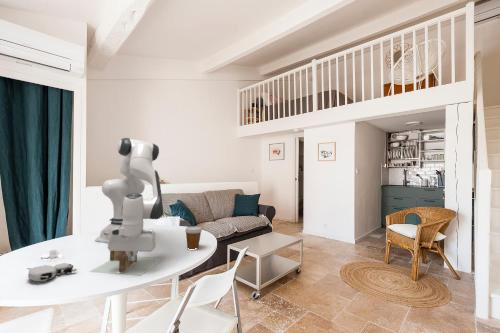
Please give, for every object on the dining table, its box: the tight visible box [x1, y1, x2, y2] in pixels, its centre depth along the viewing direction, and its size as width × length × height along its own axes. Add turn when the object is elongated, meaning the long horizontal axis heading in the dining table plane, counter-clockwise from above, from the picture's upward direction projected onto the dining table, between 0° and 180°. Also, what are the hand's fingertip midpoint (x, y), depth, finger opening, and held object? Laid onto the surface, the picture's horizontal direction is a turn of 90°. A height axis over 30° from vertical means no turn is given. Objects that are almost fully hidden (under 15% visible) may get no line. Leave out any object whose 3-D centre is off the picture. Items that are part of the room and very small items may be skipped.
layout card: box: [89, 256, 163, 277], centre depth 115 cm, size 24×20×1 cm
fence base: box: [109, 251, 138, 262], centre depth 120 cm, size 14×2×7 cm, turn 83°
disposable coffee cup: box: [184, 226, 203, 249], centre depth 143 cm, size 10×10×12 cm
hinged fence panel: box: [119, 251, 136, 272], centre depth 112 cm, size 13×2×6 cm, turn 1°
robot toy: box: [26, 262, 78, 283], centre depth 102 cm, size 12×4×15 cm
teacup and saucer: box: [40, 249, 64, 262], centre depth 123 cm, size 9×8×4 cm
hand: (131, 260), depth 109 cm, fingers closed
